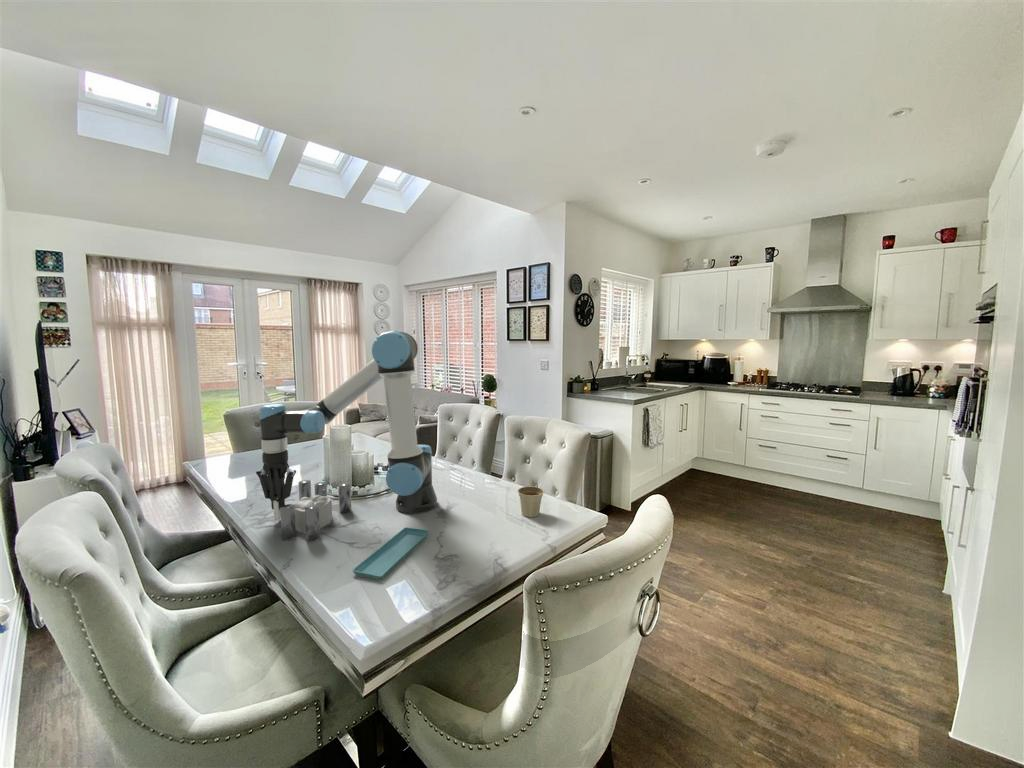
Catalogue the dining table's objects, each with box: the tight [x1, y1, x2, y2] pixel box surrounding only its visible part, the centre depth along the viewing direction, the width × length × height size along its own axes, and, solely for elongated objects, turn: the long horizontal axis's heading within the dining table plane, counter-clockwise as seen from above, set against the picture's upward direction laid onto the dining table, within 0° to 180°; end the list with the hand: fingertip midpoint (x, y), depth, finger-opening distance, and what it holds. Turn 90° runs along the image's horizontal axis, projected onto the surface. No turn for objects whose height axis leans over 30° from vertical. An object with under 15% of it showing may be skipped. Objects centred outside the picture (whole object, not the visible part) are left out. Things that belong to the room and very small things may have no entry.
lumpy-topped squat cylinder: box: [293, 495, 333, 533], centre depth 140 cm, size 10×13×9 cm
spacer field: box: [280, 479, 353, 542], centre depth 141 cm, size 20×26×10 cm
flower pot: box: [517, 485, 545, 518], centre depth 148 cm, size 9×9×9 cm
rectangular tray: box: [352, 526, 431, 581], centre depth 120 cm, size 26×9×2 cm, turn 163°
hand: (278, 518), depth 141 cm, fingers closed
